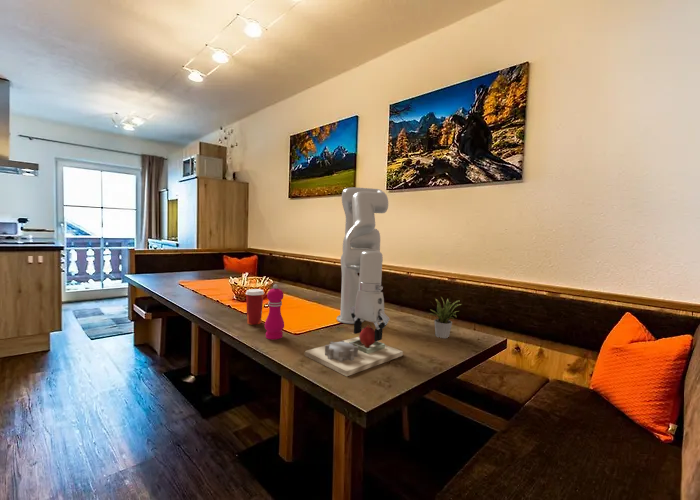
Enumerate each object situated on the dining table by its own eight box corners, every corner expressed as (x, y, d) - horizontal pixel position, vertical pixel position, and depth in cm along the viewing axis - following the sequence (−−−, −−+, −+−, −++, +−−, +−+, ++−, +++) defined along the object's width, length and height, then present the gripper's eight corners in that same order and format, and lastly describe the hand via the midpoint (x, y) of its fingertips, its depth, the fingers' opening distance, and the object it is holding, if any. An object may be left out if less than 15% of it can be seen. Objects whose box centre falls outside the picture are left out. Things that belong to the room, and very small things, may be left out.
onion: (357, 343, 121) (359, 321, 120) (374, 344, 121) (375, 322, 121) (359, 349, 115) (361, 326, 114) (376, 350, 115) (378, 327, 115)
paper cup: (267, 322, 148) (268, 290, 147) (253, 326, 141) (254, 292, 140) (254, 319, 152) (255, 288, 151) (240, 323, 145) (241, 290, 144)
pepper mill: (279, 341, 125) (280, 286, 124) (260, 338, 126) (262, 285, 125) (286, 335, 132) (288, 283, 131) (269, 333, 134) (270, 282, 132)
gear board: (360, 339, 130) (360, 328, 130) (402, 355, 116) (403, 342, 115) (304, 355, 112) (305, 342, 112) (346, 376, 98) (347, 361, 97)
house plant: (470, 337, 139) (472, 297, 138) (454, 345, 129) (457, 302, 128) (438, 329, 149) (440, 292, 148) (421, 335, 139) (423, 295, 137)
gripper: (396, 290, 113) (394, 341, 114) (359, 282, 125) (357, 328, 127) (382, 292, 108) (379, 345, 109) (344, 284, 120) (342, 332, 121)
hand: (367, 336), depth 118 cm, fingers open, 9 cm apart
